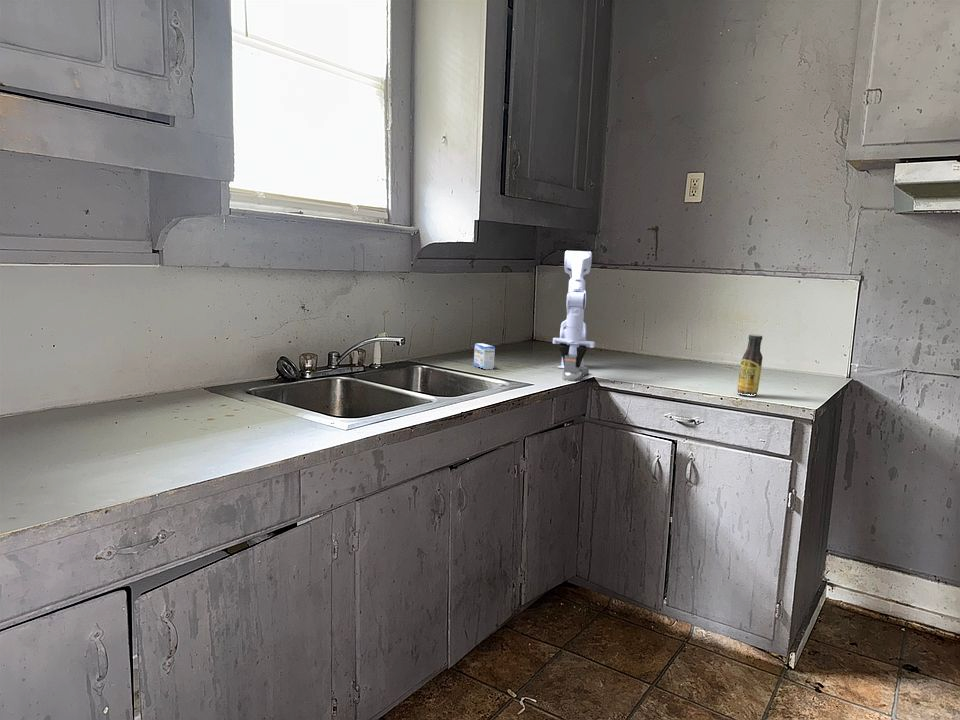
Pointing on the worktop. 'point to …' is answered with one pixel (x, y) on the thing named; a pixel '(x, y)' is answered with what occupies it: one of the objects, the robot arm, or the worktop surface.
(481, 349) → the medicine box
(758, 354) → the sauce bottle
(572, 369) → the socket
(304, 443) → the worktop surface
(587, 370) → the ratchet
